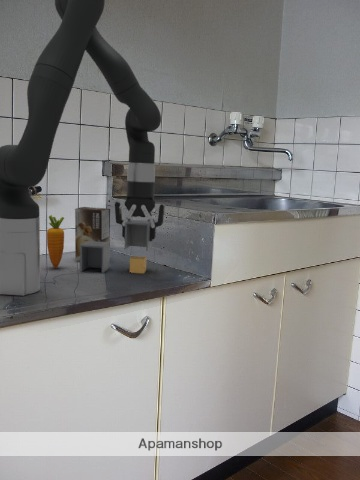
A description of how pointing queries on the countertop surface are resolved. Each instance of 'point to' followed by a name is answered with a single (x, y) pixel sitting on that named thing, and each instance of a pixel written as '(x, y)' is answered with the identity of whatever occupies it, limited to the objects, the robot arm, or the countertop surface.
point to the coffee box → (91, 227)
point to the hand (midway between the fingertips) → (138, 239)
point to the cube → (138, 264)
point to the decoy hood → (94, 255)
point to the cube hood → (137, 234)
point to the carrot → (55, 241)
